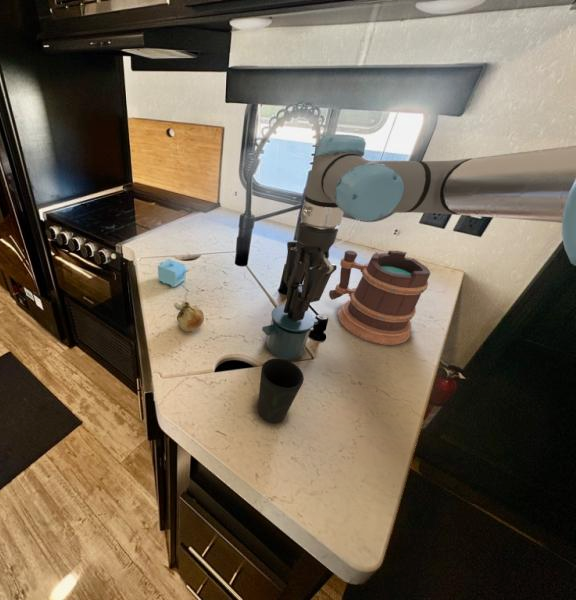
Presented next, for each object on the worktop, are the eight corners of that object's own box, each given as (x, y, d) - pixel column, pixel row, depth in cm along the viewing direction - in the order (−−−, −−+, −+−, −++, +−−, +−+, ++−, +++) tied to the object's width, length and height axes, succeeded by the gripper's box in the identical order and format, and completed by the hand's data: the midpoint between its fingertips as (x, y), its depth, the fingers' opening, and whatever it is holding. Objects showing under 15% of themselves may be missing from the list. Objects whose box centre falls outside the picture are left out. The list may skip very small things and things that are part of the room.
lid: (322, 328, 73) (333, 297, 68) (286, 337, 71) (295, 305, 66) (296, 305, 81) (305, 275, 76) (263, 312, 79) (269, 281, 73)
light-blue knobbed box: (193, 284, 106) (194, 264, 102) (183, 292, 102) (183, 272, 98) (165, 273, 112) (165, 255, 108) (155, 280, 108) (154, 261, 104)
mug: (335, 292, 102) (355, 235, 91) (415, 320, 90) (451, 259, 79) (313, 318, 91) (333, 257, 79) (402, 355, 79) (441, 289, 67)
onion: (180, 338, 84) (181, 315, 79) (173, 320, 90) (173, 298, 85) (207, 334, 85) (209, 310, 81) (197, 316, 92) (199, 294, 87)
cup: (275, 392, 69) (286, 354, 62) (297, 420, 64) (312, 382, 57) (245, 402, 67) (253, 364, 60) (266, 433, 61) (277, 394, 54)
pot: (319, 352, 79) (328, 327, 75) (269, 365, 76) (276, 339, 71) (297, 330, 87) (304, 305, 82) (251, 341, 83) (255, 316, 78)
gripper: (280, 211, 67) (262, 300, 80) (330, 241, 55) (299, 339, 68) (309, 208, 69) (287, 295, 82) (364, 235, 57) (328, 332, 70)
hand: (293, 315), depth 75 cm, fingers closed on lid, 3 cm apart
